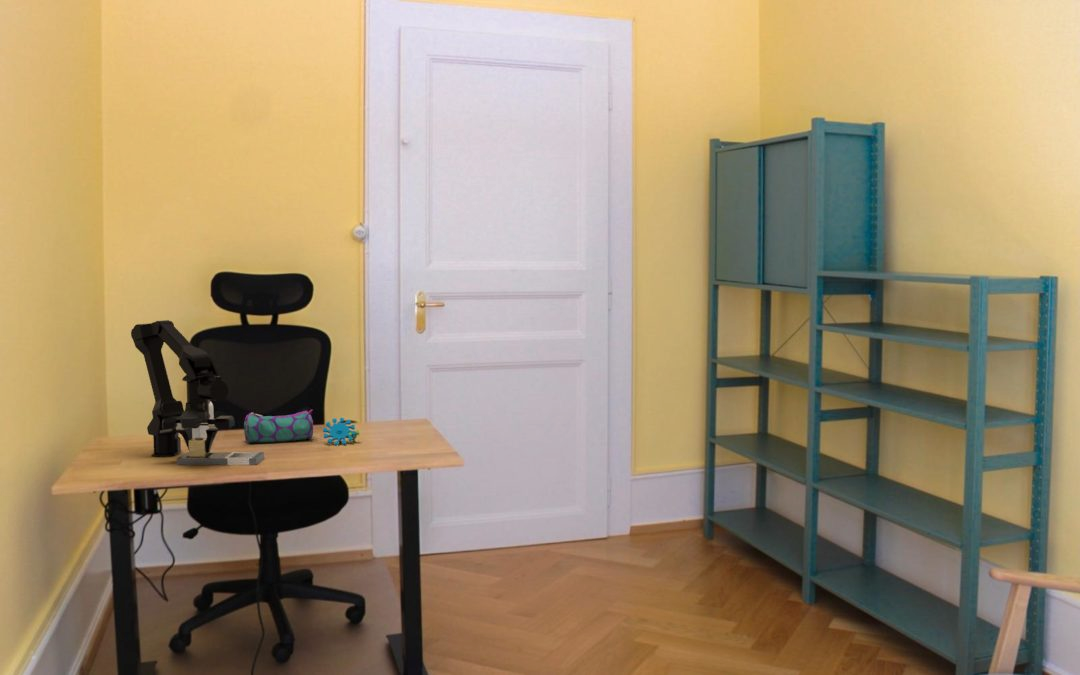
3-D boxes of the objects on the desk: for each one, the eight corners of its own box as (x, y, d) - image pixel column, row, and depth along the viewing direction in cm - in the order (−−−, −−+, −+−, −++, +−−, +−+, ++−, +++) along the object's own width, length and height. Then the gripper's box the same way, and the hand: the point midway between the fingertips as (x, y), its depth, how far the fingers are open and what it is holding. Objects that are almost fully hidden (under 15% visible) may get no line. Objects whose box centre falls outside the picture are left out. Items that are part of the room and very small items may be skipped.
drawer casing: (176, 464, 266) (176, 457, 266) (187, 458, 274) (186, 451, 274) (256, 464, 267) (256, 457, 266) (264, 458, 275) (264, 451, 274)
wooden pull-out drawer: (189, 463, 268) (188, 439, 268) (194, 460, 273) (193, 436, 272) (205, 463, 268) (204, 439, 268) (210, 460, 273) (209, 436, 272)
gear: (319, 441, 291) (326, 414, 298) (320, 451, 296) (326, 425, 302) (356, 445, 292) (361, 418, 299) (356, 456, 297) (361, 429, 303)
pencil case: (244, 446, 292) (243, 415, 291) (244, 440, 301) (243, 410, 300) (314, 442, 298) (313, 411, 298) (312, 436, 307) (311, 407, 306)
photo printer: (200, 442, 297) (199, 403, 296) (187, 442, 297) (186, 402, 296) (216, 436, 307) (215, 398, 306) (203, 436, 307) (202, 397, 306)
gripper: (153, 402, 260) (155, 458, 262) (222, 402, 261) (223, 458, 262) (168, 396, 272) (170, 450, 273) (234, 396, 272) (236, 450, 273)
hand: (199, 452), depth 270 cm, fingers closed on wooden pull-out drawer, 4 cm apart
